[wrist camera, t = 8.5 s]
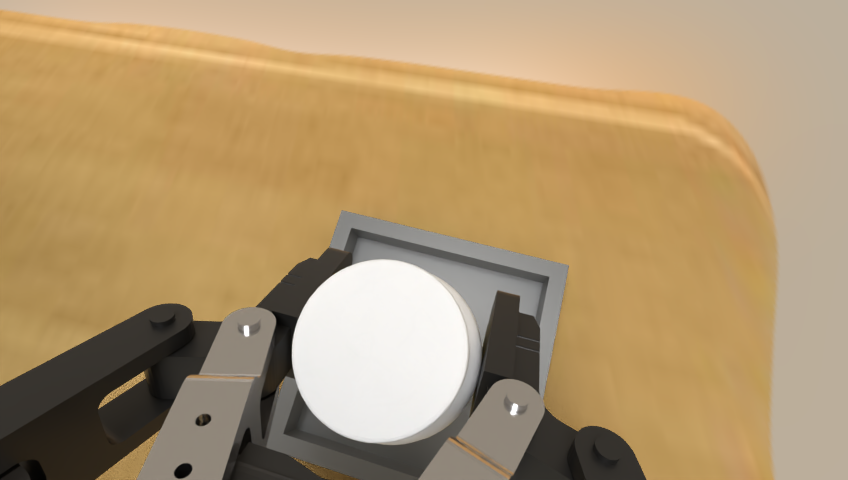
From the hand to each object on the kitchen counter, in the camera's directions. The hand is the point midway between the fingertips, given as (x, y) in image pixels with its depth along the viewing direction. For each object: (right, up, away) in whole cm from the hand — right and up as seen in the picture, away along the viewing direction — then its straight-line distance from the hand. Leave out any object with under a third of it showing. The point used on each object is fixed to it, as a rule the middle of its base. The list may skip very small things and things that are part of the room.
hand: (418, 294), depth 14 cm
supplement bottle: (0, -3, +4) cm, 5 cm away
